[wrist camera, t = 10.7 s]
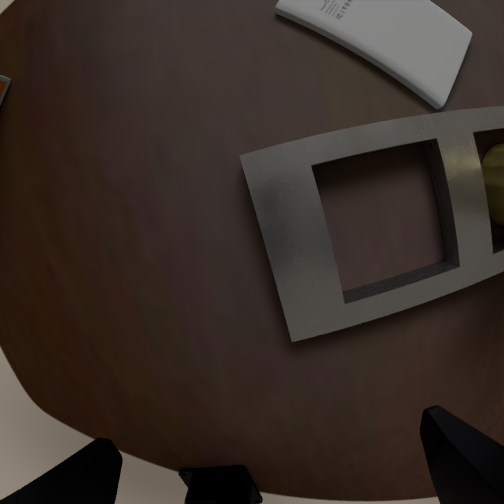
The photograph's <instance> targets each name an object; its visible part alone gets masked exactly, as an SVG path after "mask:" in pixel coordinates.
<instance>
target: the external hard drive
mask: <svg viewBox="0 0 504 504" xmlns="http://www.w3.org/2000/svg"><path fill="white" fill-rule="evenodd" d="M275 13H276V14H279V15H281V16H283V17H286V18H288V19H290V20H292V21H294V22H297V23H299V24H301V25H303V26H305V27H307V28H309V29H311V30H313V31H315V32H317V33H319V34H321V35H323V36H325V37H327V38H329V39H331V40H333V41H334V42H336V43H338V44H340V45H342V46H343V47H345V48H347V49H349V50H351V51H352V52H354V53H356V54H357V55H359V56H361V57H362V58H364V59H366V60H367V61H369V62H371V63H372V64H374V65H375V66H377V67H378V68H380V69H382V70H383V71H385V72H386V73H388V74H389V75H391V76H392V77H393V78H395V79H396V80H398V81H399V82H401V83H402V84H404V85H405V86H406V87H408V88H409V89H411V90H412V91H413V92H415V93H416V94H417V95H419V96H420V97H421V98H423V99H424V100H425V101H426V102H428V103H429V104H430V105H432V106H433V107H434V108H435V109H439V108H442V107H443V106H444V104H445V102H446V100H447V98H448V96H449V93H450V91H451V88H452V86H453V84H454V81H455V79H456V76H457V74H458V72H459V69H460V66H461V64H462V61H463V59H464V56H465V54H466V51H467V48H468V45H469V43H470V40H471V37H472V32H470V31H469V30H468V29H467V28H466V27H464V26H463V25H462V24H461V23H459V22H458V21H457V20H456V19H454V18H453V17H452V16H450V15H449V14H448V13H446V12H445V11H444V10H442V9H441V8H440V7H438V6H437V5H435V4H434V3H432V2H431V1H430V0H279V2H278V3H277V5H276V7H275Z"/></svg>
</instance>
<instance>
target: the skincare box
mask: <svg viewBox="0 0 504 504" xmlns="http://www.w3.org/2000/svg"><path fill="white" fill-rule="evenodd" d="M10 82H11V79H10V78H7V77H4V76H1V75H0V106H1V103H2V101H3V98H4V96H5V93H6V91H7V89H8V86H9V85H10Z"/></svg>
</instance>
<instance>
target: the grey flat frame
mask: <svg viewBox="0 0 504 504" xmlns="http://www.w3.org/2000/svg"><path fill="white" fill-rule="evenodd" d="M500 129H504V106H497V107H485V108H474V109H464V110H455V111H447V112H439V113H432V114H425V115H418V116H412V117H406V118H399V119H394V120H388V121H382V122H377V123H372V124H367V125H361V126H356V127H352V128H347V129H342V130H338V131H333V132H329V133H324V134H320V135H316V136H311V137H307V138H303V139H299V140H295V141H291V142H287V143H283V144H280V145H276V146H272V147H268V148H265V149H261V150H258V151H254V152H251V153H247V154H244V155H240V160H241V163H242V167H243V170H244V173H245V177H246V180H247V184H248V187H249V191H250V194H251V198H252V201H253V204H254V208H255V211H256V215H257V218H258V222H259V225H260V229H261V232H262V236H263V239H264V243H265V247H266V250H267V254H268V257H269V261H270V264H271V268H272V271H273V275H274V279H275V282H276V286H277V289H278V293H279V297H280V300H281V304H282V308H283V311H284V315H285V318H286V322H287V326H288V329H289V333H290V337H291V340H292V342H295V341H299V340H303V339H307V338H311V337H314V336H318V335H322V334H326V333H329V332H333V331H337V330H340V329H344V328H347V327H351V326H354V325H357V324H361V323H364V322H367V321H371V320H374V319H377V318H380V317H383V316H386V315H390V314H393V313H396V312H399V311H402V310H405V309H408V308H411V307H413V306H416V305H419V304H422V303H425V302H428V301H430V300H433V299H436V298H439V297H441V296H444V295H447V294H449V293H452V292H455V291H457V290H460V289H462V288H465V287H467V286H470V285H472V284H475V283H477V282H480V281H482V280H484V279H487V278H489V277H491V276H494V275H496V274H498V273H501V272H503V271H504V239H502V240H499V241H497V242H494V243H492V236H491V227H490V218H489V211H488V204H487V197H486V191H485V185H484V180H483V175H482V170H481V165H480V161H479V156H478V152H477V148H476V144H475V140H474V136H473V133H479V132H485V131H492V130H500ZM420 142H423V145H424V149H425V153H426V156H427V160H428V164H429V169H430V173H431V177H432V182H433V186H434V191H435V196H436V201H437V207H438V212H439V218H440V224H441V230H442V237H443V244H444V252H445V260H444V261H441V262H438V263H435V264H432V265H429V266H426V267H423V268H420V269H417V270H414V271H411V272H408V273H404V274H401V275H398V276H395V277H392V278H388V279H385V280H382V281H379V282H375V283H372V284H369V285H365V286H362V287H358V288H355V289H352V290H348V291H345V292H342V289H341V284H340V280H339V275H338V270H337V266H336V261H335V257H334V253H333V248H332V244H331V240H330V236H329V232H328V228H327V224H326V220H325V216H324V212H323V208H322V204H321V200H320V197H319V193H318V189H317V185H316V182H315V178H314V175H313V171H312V168H311V167H312V166H316V165H320V164H324V163H328V162H332V161H336V160H340V159H345V158H349V157H353V156H357V155H362V154H366V153H371V152H376V151H380V150H385V149H390V148H394V147H399V146H404V145H409V144H415V143H420Z"/></svg>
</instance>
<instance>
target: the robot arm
mask: <svg viewBox="0 0 504 504" xmlns="http://www.w3.org/2000/svg"><path fill="white" fill-rule="evenodd" d="M420 436H421V440H422V444H423V447H424V451H425V455H426V459H427V463H428V467H429V472H430V475H431V479H432V482H433V485H434V488H435V491H436V493H437V496H438V499H439V501H440V504H504V446H503V445H501V444H499V443H498V442H496V441H495V440H493V439H491V438H490V437H488V436H486V435H485V434H483V433H482V432H480V431H478V430H477V429H475V428H474V427H472V426H470V425H469V424H467V423H466V422H464V421H463V420H461V419H459V418H458V417H456V416H455V415H453V414H452V413H450V412H448V411H447V410H445V409H444V408H442V407H441V406H438V405H435V406H432V407H429V408H426V409H424V411H423V414H422V420H421V425H420ZM121 467H122V455H121V454H120V452H119V451H118V449H117V448H116V446H115V445H114V444H113V442H112V441H111V440H110V439H107V438H97V439H95V440H94V441H92V442H91V443H89V444H88V445H87V446H85V447H84V448H82V449H81V450H79V451H78V452H76V453H75V454H73V455H72V456H70V457H69V458H67V459H66V460H64V461H63V462H61V463H60V464H58V465H57V466H55V467H54V468H52V469H51V470H49V471H48V472H46V473H44V474H43V475H42V476H40V477H38V478H37V479H35V480H33V481H32V482H30V483H29V484H27V485H25V486H24V487H22V488H21V489H19V490H17V491H16V492H14V493H12V494H11V495H9V496H7V497H5V498H4V499H2V500H0V504H114V503H115V500H116V495H117V488H118V483H119V478H120V472H121ZM178 474H179V476H180V477H181V479H182V480H183V481H184V483H185V484H186V485H187V487H188V491H187V494H186V498H185V504H260V503H262V500H263V499H262V496H261V494H260V493H259V491H258V489H257V487H256V485H255V483H254V481H253V480H252V478H251V476H250V474H249V472H248V470H247V468H246V467H245V466H243V465H235V466H223V467H209V468H186V469H180V470H179V473H178Z"/></svg>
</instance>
